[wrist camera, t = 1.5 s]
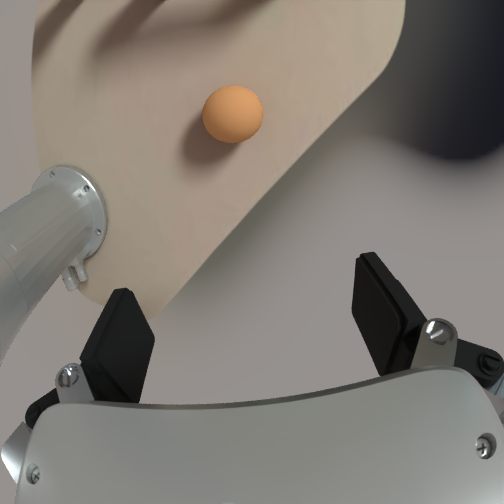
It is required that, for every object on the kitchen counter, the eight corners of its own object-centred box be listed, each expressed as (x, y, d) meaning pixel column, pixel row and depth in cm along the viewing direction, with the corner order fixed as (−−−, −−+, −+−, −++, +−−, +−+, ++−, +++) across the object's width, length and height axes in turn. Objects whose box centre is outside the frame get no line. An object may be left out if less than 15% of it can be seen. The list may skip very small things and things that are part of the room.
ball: (262, 137, 26) (268, 143, 21) (208, 142, 26) (201, 149, 21) (258, 86, 23) (264, 80, 19) (203, 91, 23) (195, 86, 19)
